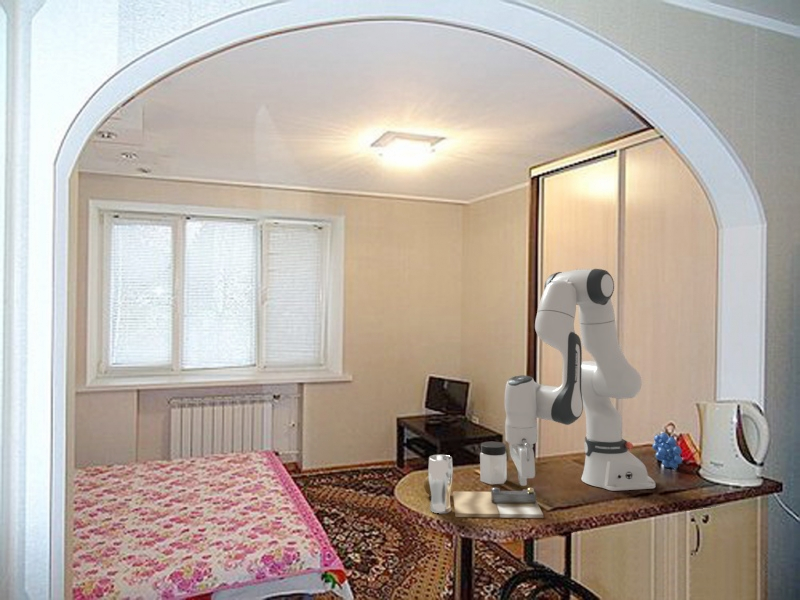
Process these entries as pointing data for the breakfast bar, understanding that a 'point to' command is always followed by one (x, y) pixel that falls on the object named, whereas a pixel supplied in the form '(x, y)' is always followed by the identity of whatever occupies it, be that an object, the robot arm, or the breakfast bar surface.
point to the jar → (493, 463)
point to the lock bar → (513, 496)
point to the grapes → (667, 450)
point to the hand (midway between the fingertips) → (522, 483)
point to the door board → (492, 506)
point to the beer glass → (440, 482)
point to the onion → (427, 486)
